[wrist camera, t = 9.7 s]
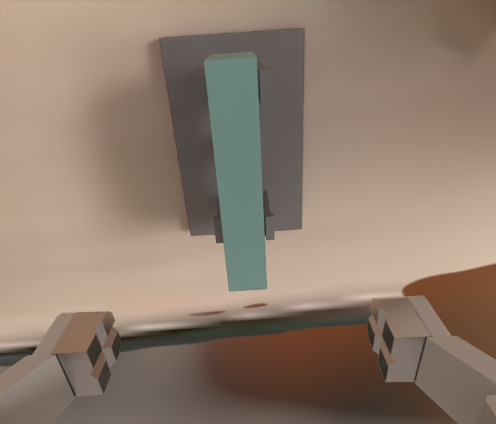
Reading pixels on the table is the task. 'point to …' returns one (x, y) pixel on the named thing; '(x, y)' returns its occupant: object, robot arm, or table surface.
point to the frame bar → (238, 165)
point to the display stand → (270, 115)
